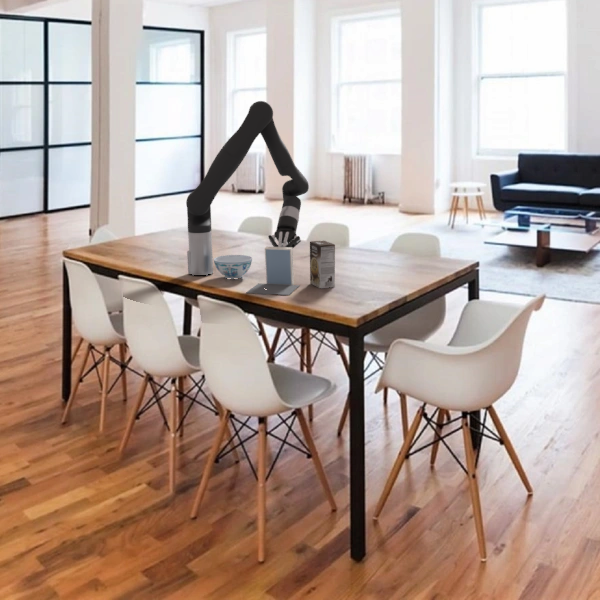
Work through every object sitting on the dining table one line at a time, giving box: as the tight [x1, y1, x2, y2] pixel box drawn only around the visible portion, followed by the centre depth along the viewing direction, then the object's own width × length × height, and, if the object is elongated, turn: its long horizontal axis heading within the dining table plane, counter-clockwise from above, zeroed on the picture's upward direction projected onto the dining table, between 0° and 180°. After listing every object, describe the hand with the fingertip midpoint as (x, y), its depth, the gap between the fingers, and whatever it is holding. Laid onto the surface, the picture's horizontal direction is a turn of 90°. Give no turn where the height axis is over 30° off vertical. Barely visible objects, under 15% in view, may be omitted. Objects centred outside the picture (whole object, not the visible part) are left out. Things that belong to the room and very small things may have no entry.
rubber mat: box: [245, 283, 300, 296], centre depth 263 cm, size 16×15×1 cm
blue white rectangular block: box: [264, 246, 295, 285], centre depth 270 cm, size 10×3×14 cm, turn 76°
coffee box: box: [309, 240, 336, 289], centre depth 267 cm, size 9×6×16 cm
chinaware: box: [213, 254, 253, 279], centre depth 283 cm, size 15×15×8 cm
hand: (280, 257), depth 271 cm, fingers closed
